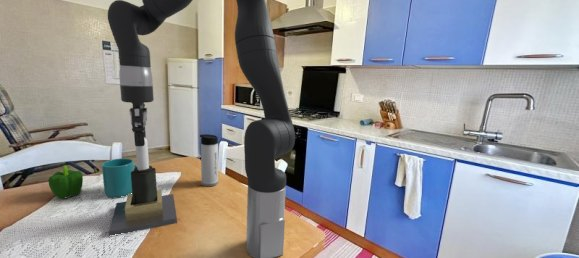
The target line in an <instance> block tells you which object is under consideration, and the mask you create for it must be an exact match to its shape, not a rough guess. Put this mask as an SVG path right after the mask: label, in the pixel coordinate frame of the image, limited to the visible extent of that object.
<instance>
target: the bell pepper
mask: <svg viewBox="0 0 579 258" xmlns="http://www.w3.org/2000/svg"><path fill="white" fill-rule="evenodd" d="M62 169H63V171H56V172H55V173H53V175H51V176H49V178H48V186H49V188H50V190H51V193H52V194H53V196H54V197H56V198H57V199H59V198H61V199H66V198H65V197H68V198H69V197H74V196H73V195H75V196H77V195H76V194H78V193H79V194H80V193H81V192H82V188H83V184H84V183H83V182H84V181H83V180H84V179H83V178H84V177H83V172H82V171H81V170H72V169H68V166H67V165H66V164H65V165H63V166H62ZM79 194H78V195H79Z"/></svg>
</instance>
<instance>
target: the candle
mask: <svg viewBox="0 0 579 258" xmlns="http://www.w3.org/2000/svg"><path fill="white" fill-rule="evenodd" d="M144 140H145V145H144V146H135V155H136V165H137V167H136V168H135V167H134V171H132V172H131V183H132V195H133V205H136V204H142V203H148V202H154V201H157V190H158V189H157V174H156V173H157V172H156V168H155V167H153V166H152V165H150V160H149V147H148V144H149V143H148V139H147V138H145V137H144Z"/></svg>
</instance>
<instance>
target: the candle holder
mask: <svg viewBox="0 0 579 258" xmlns="http://www.w3.org/2000/svg"><path fill="white" fill-rule="evenodd" d="M162 191H163V190H162V189H159V188H158V189H157V201H154V202H148V203H142V204H136V205H133V195H132V194H128V195H127V196H126V201H120V202H117V203H116V204H115V208H114V211H113V215H112V218H111V221H110V225H109V228H108V231H107V233H108V237H109V236H110V235H115V234H121V233H126V234H129V233H128V232H130V233H134V232H133V231H135V232H138V231H137V230H140V231H144V230H148V229H149V230H150V229H154V228H158V227H162V226H169V225H172V224H177V223H178V218H177V212H176V204H175V199H174V198H175V197H174V194H170V193H169V194H166V195H163V194H162ZM121 235H122V234H121Z"/></svg>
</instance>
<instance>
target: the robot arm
mask: <svg viewBox="0 0 579 258" xmlns="http://www.w3.org/2000/svg"><path fill="white" fill-rule="evenodd" d="M141 2H142V4H143V5H141V6H139V5H136V4H134V3H131V2H129V1H126V0H114V1H112V2H111V3H110V5H109V7H108V10H107V22H108V24H109V28H110V30H111V33H112V37H113V39H114V42H115V44H116V47H117V50H118V60H119V61H118V62H119V73H118V76H119V88H120V89H119V90H120V100H121V102H123V103H131V104H132V107H130V109H129V115H130V124H131V131H132V132H133V136H134V146H135V147H136V146H144V145H145V140H144V137H145V138H146V137H147V136H146V133H147V132H146V124H147V121H148V117H147V116H148V107H145V106H146V104H145V103H152V102H154V86H153V85H154V83H153V81H154V80H153V73H152V68H151V67H152V66H151V53H150V52H151V51H150V49H149V47H148V46H147V45H145V44H143V43H142V42H141V41H140V38H139V36H147V35H150V34H152V33H153V32H155V31H156V30H157V29H158V28H159V27H160V26H161V25H162V24H163V23H164V22H165V21H166V19H169V18H170V17H172V16H174V15H175V14H178V13H180V11H182V10H184V9H185V8H187V7H189V5H190V4H191V3H192V2H193V0H142V1H141ZM236 5H237V6H236V7H237V18H236V23H235V29H234V43H235V48H236V55H237V60H238V64H239V67H240V69H241V72H242V73H243V76H244V77H245V78H246V80H247V81H248V83H249V84H250V85H251V87H252V88H253V90H254V91H255V93H256V94H257V96H258V98H259V100H260V103H261V105H262V110H263V111H262V112H263V114H264V115H263V116H264V119H257V120H253V121H251V122H250V123H249V124H248V125H247V127H246V129H245V133H244V137H243V139H244V140H243V141H244V143H243V145H244V146H243V148H244V149H243V150H244V170H245V174H246V178H247V200H246V201H247V205H246V208H247V209H246V210H247V211H246V244H245V245H246V247H245V248H246V251H247V253H248V254H249V256H251V257H253V258H277V257H280V256H282V255H284V245H285V244H284V243H285V241H284V240H285V230H286V229H285V227H286V225H285V224H286V220H285V207H286V192H287V191H286V189H287V187H286V186H287V174H286V173H285V171H284V170H282V169H279V168H278V167H277V168H276V158H278V157H280V156H283V155H287V154H288V153H290V152H291V151H292V150H293V148H294V146H295V144H296V143H295V141H296V133H295V128H294V124H293V118H292V117H291V112H290V109H289V107H288V101H287V99H286V94H285V91H284V86H283V85H284V84H283V81H282V75H281V71H280V66H279V58H278V51H277V45H276V40H275V36H274V32H273V26H272V22H271V17H270V13H269V9H268V6H267V1H266V0H236ZM146 139H147V138H146Z"/></svg>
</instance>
